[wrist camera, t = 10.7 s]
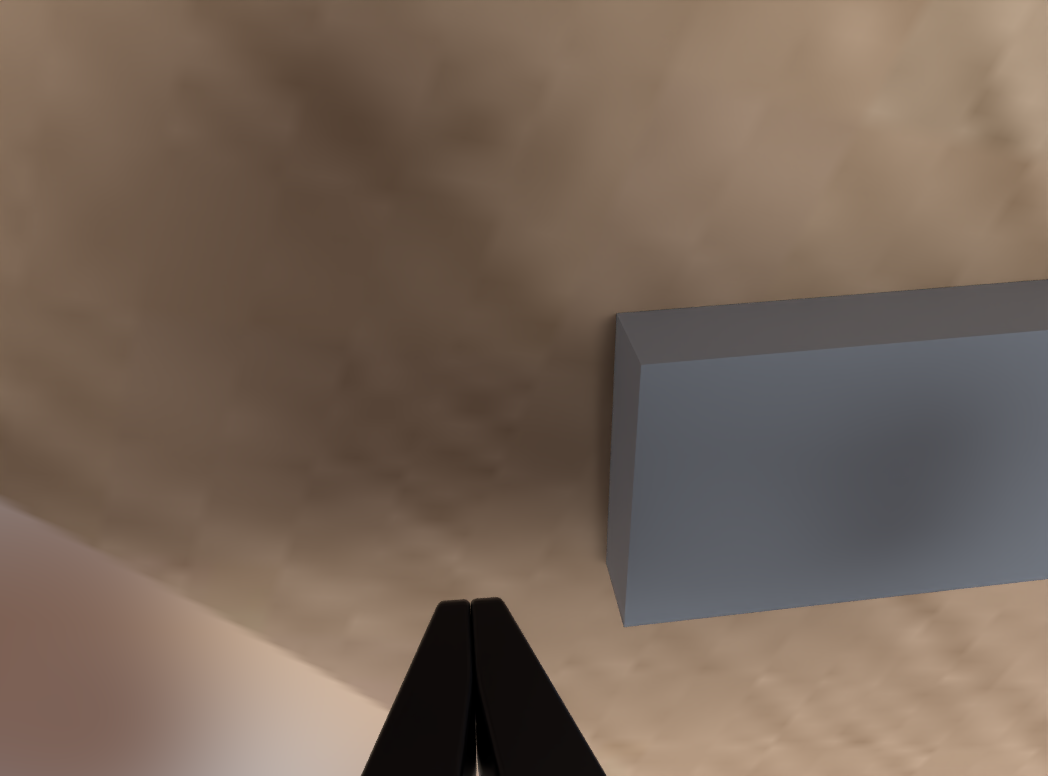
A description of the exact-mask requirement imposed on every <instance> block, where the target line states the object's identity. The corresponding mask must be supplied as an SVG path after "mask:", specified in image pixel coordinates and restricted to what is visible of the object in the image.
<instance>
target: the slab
mask: <svg viewBox="0 0 1048 776" xmlns="http://www.w3.org/2000/svg"><path fill="white" fill-rule="evenodd" d="M606 564H607V568H608V571H609V575H610V579H611V582H612V586H613V589H614V593H615V597H616V600H617V604H618V607H619V611H620V615H621V618H622V622H623V625H624V627H629V626H638V625H647V624H655V623H664V622H673V621H682V620H691V619H700V618H708V617H717V616H726V615H735V614H744V613H752V612H761V611H770V610H779V609H788V608H796V607H805V606H814V605H823V604H832V603H841V602H849V601H858V600H867V599H876V598H885V597H893V596H902V595H911V594H920V593H929V592H937V591H946V590H955V589H964V588H973V587H981V586H990V585H999V584H1008V583H1017V582H1026V581H1034V580H1043V579H1048V279H1046V280H1033V281H1021V282H1008V283H995V284H983V285H970V286H957V287H945V288H932V289H919V290H907V291H894V292H881V293H868V294H856V295H843V296H830V297H818V298H805V299H792V300H780V301H767V302H754V303H741V304H729V305H716V306H703V307H691V308H678V309H665V310H653V311H640V312H627V313H617V315H616V339H615V363H614V387H613V411H612V435H611V459H610V483H609V507H608V531H607V555H606Z"/></svg>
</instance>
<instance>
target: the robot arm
mask: <svg viewBox="0 0 1048 776" xmlns="http://www.w3.org/2000/svg"><path fill="white" fill-rule="evenodd" d="M476 746H477V761H478V772H479V776H606V774H605V772H604V771H603V769H602V767H601V765H600V764H599V762H598V760H597V759H596V757H595V755H594V754H593V752H592V750H591V748H590V747H589V745H588V743H587V742H586V740H585V738H584V737H583V735H582V733H581V732H580V730H579V728H578V726H577V725H576V723H575V721H574V720H573V718H572V716H571V715H570V713H569V711H568V709H567V708H566V706H565V704H564V703H563V701H562V699H561V698H560V696H559V694H558V693H557V691H556V689H555V687H554V686H553V684H552V682H551V681H550V679H549V677H548V676H547V674H546V672H545V670H544V669H543V667H542V665H541V664H540V662H539V660H538V659H537V657H536V655H535V654H534V652H533V650H532V648H531V647H530V645H529V643H528V642H527V640H526V638H525V637H524V635H523V633H522V631H521V630H520V628H519V626H518V625H517V623H516V621H515V620H514V618H513V616H512V615H511V613H510V611H509V609H508V608H507V606H506V604H505V603H504V601H503V600H502V599H501V598H499V597H491V598H477V599H474V600H472V602H471V609H470V603H469V601H468V600H465V599H462V600H447V601H441V602H440V603H439V604H438V605H437V607H436V609H435V611H434V614H433V616H432V618H431V620H430V622H429V625H428V627H427V629H426V631H425V634H424V636H423V638H422V640H421V643H420V645H419V647H418V649H417V652H416V654H415V656H414V658H413V660H412V663H411V665H410V667H409V669H408V672H407V674H406V676H405V678H404V681H403V683H402V685H401V687H400V690H399V692H398V694H397V696H396V699H395V701H394V703H393V705H392V707H391V710H390V712H389V714H388V716H387V719H386V721H385V723H384V725H383V728H382V730H381V732H380V734H379V737H378V739H377V741H376V743H375V746H374V748H373V750H372V752H371V754H370V757H369V759H368V761H367V763H366V766H365V768H364V770H363V773H362V775H361V776H476V771H477V764H476Z"/></svg>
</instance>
